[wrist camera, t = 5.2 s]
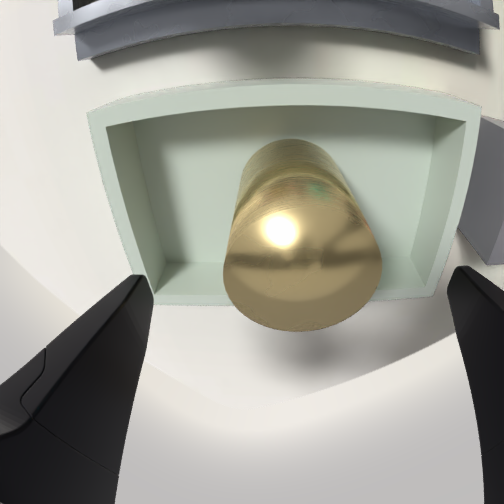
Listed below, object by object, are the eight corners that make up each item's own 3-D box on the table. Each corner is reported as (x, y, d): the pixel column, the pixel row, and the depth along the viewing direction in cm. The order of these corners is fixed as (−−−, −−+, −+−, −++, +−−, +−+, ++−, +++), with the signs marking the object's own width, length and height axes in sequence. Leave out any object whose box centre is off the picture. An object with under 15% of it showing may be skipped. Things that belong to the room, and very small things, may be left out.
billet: (343, 138, 12) (396, 208, 7) (337, 229, 14) (366, 328, 9) (236, 140, 12) (211, 211, 7) (244, 231, 15) (232, 332, 10)
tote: (444, 92, 10) (481, 106, 8) (413, 259, 16) (432, 296, 13) (120, 98, 11) (86, 112, 9) (160, 266, 17) (145, 304, 14)
